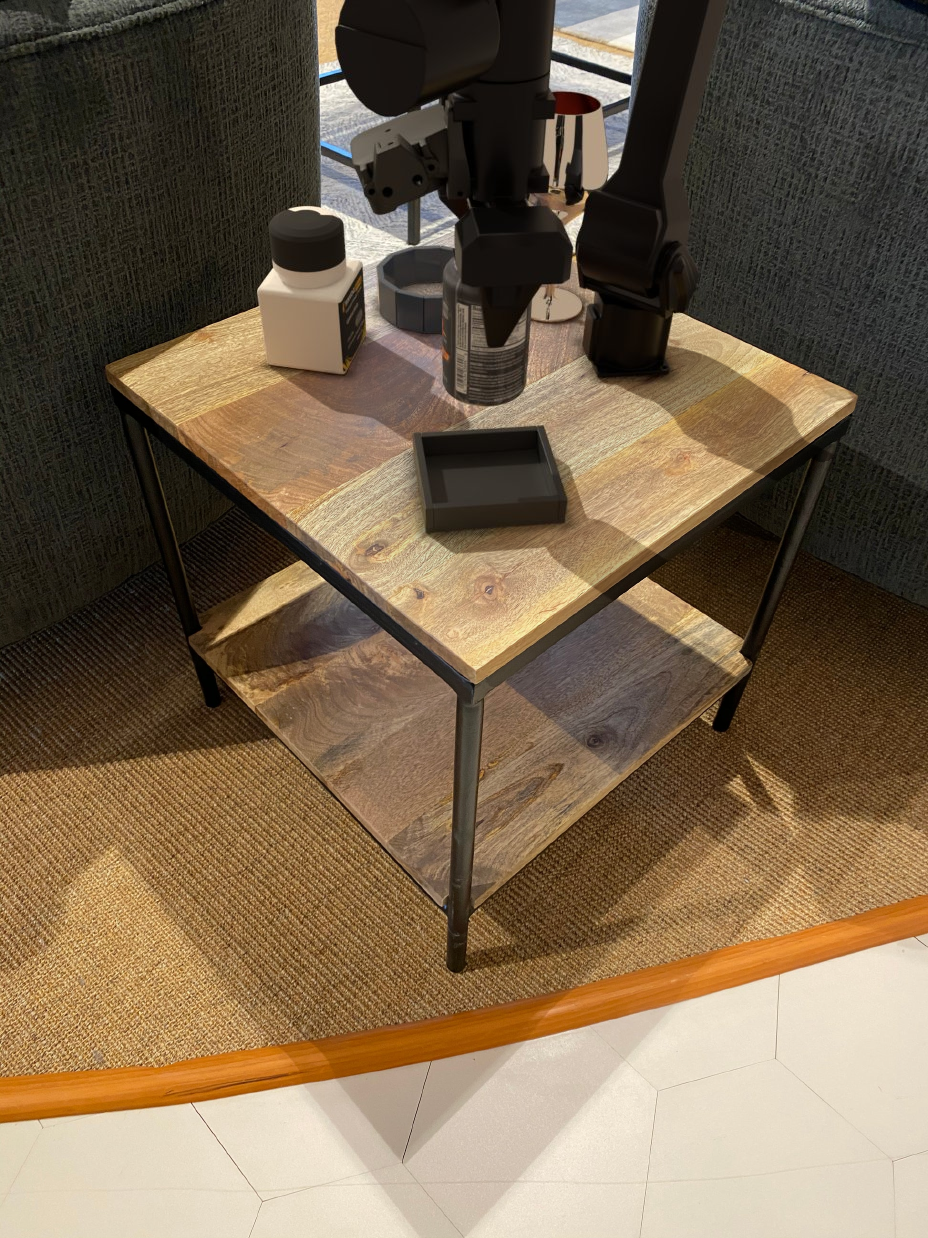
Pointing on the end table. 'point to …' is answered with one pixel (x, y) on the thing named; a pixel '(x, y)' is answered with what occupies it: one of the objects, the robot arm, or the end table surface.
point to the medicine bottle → (311, 293)
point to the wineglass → (570, 181)
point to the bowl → (405, 271)
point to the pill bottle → (479, 349)
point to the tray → (488, 479)
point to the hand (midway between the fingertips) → (488, 321)
